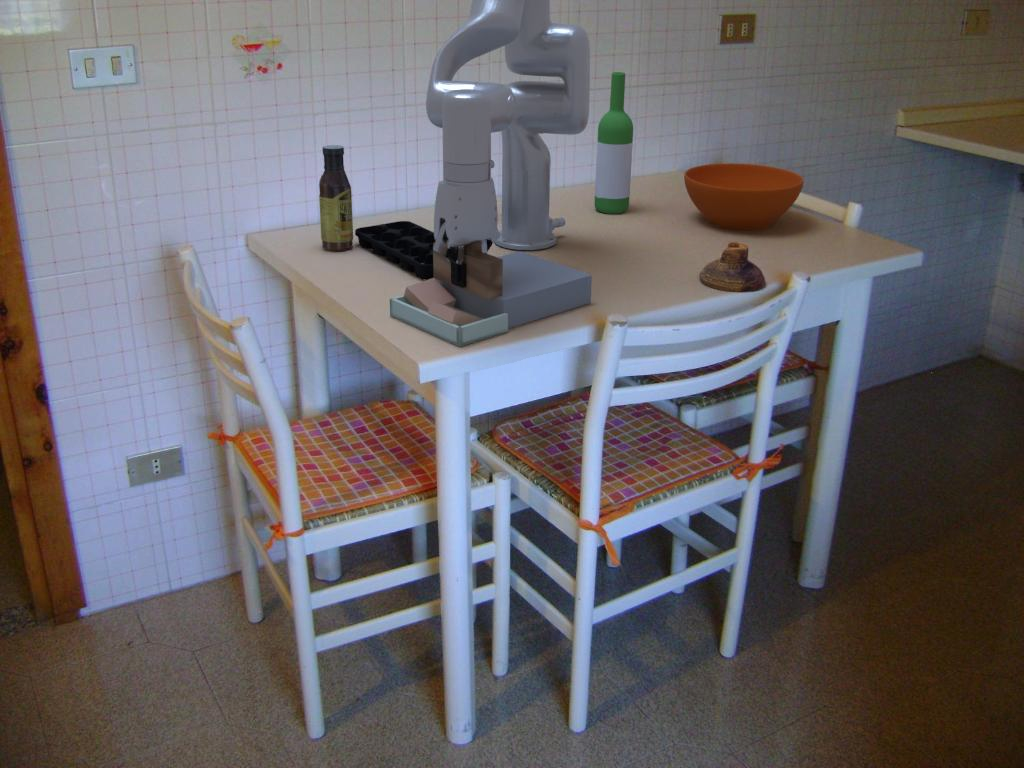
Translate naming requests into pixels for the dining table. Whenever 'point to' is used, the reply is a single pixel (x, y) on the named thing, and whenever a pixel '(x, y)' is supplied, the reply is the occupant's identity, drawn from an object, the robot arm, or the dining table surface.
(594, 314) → the dining table surface
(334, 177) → the sauce bottle
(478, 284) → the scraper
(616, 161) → the wine bottle
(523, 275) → the board
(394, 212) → the dining table surface
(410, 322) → the tray
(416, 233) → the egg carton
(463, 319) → the tile
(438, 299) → the tile
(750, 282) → the bell
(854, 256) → the dining table surface
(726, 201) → the bowl
